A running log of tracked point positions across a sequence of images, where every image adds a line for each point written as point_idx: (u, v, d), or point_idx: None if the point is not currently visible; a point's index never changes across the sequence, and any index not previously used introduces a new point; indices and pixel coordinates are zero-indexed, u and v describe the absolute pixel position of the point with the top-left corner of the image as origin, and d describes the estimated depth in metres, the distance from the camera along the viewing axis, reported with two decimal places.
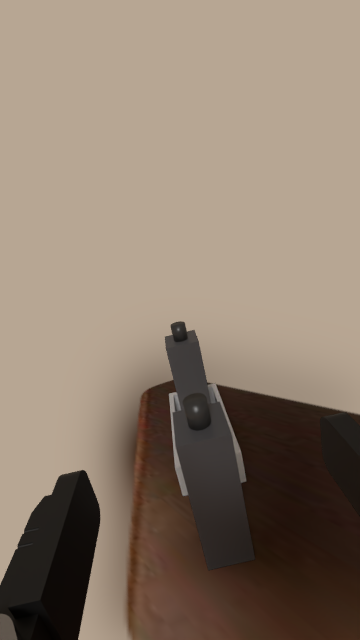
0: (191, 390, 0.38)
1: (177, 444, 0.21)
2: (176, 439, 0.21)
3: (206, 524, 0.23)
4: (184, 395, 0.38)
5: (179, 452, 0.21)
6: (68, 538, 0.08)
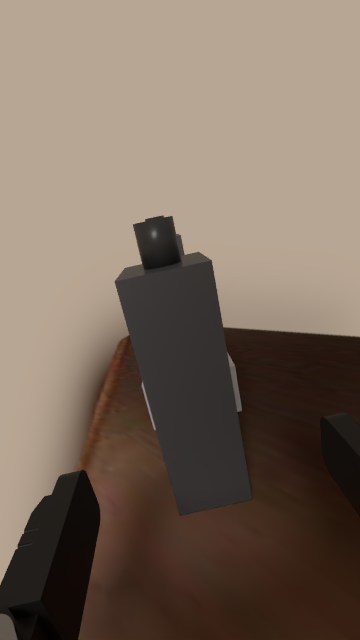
0: None
1: (118, 279, 0.12)
2: (119, 277, 0.13)
3: (173, 435, 0.14)
4: None
5: (122, 293, 0.12)
6: (68, 538, 0.08)
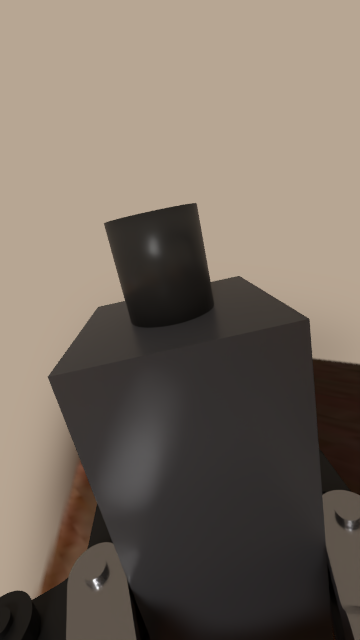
0: None
1: (61, 368, 0.05)
2: (68, 355, 0.05)
3: None
4: None
5: (69, 404, 0.05)
6: None
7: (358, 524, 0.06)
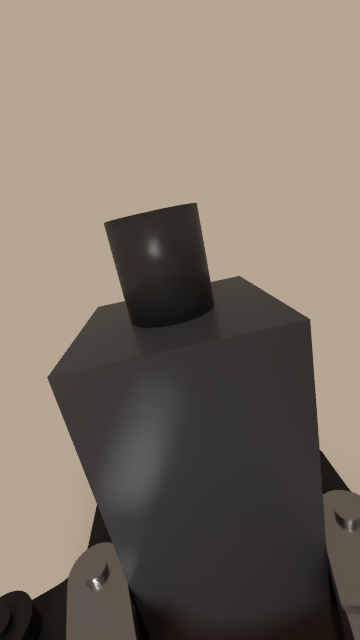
0: None
1: (61, 369, 0.05)
2: (68, 355, 0.05)
3: None
4: None
5: (69, 405, 0.05)
6: None
7: (358, 524, 0.06)
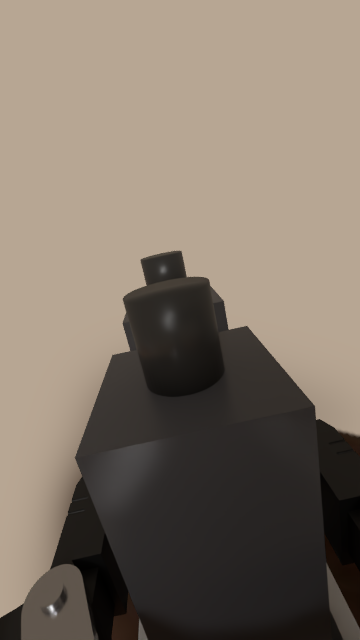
0: None
1: (87, 447, 0.05)
2: (91, 427, 0.06)
3: None
4: None
5: (94, 480, 0.05)
6: None
7: None
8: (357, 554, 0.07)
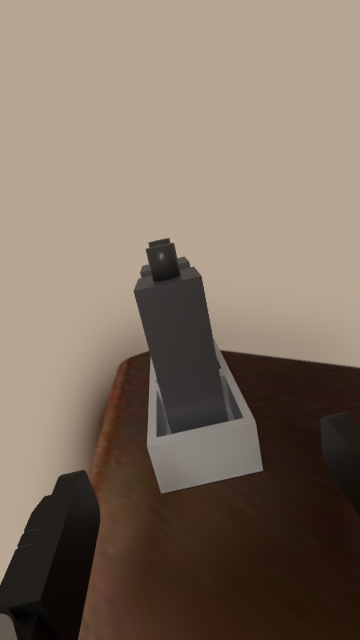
0: None
1: (136, 289, 0.17)
2: (136, 288, 0.18)
3: (175, 402, 0.20)
4: None
5: (138, 299, 0.17)
6: (68, 538, 0.08)
7: None
8: None
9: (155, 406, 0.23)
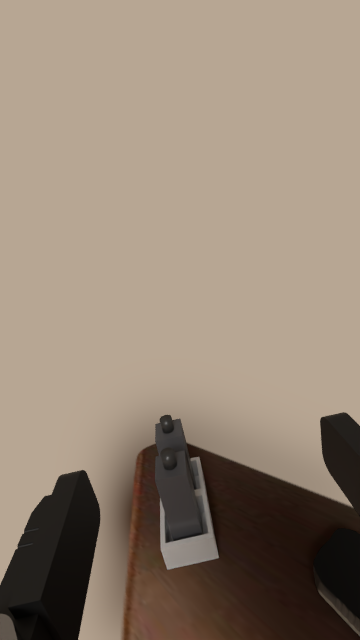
0: None
1: (156, 479, 0.37)
2: (156, 475, 0.37)
3: (174, 524, 0.39)
4: None
5: (157, 483, 0.37)
6: (68, 538, 0.08)
7: None
8: None
9: (164, 518, 0.42)
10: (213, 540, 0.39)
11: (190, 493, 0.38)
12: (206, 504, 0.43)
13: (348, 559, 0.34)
